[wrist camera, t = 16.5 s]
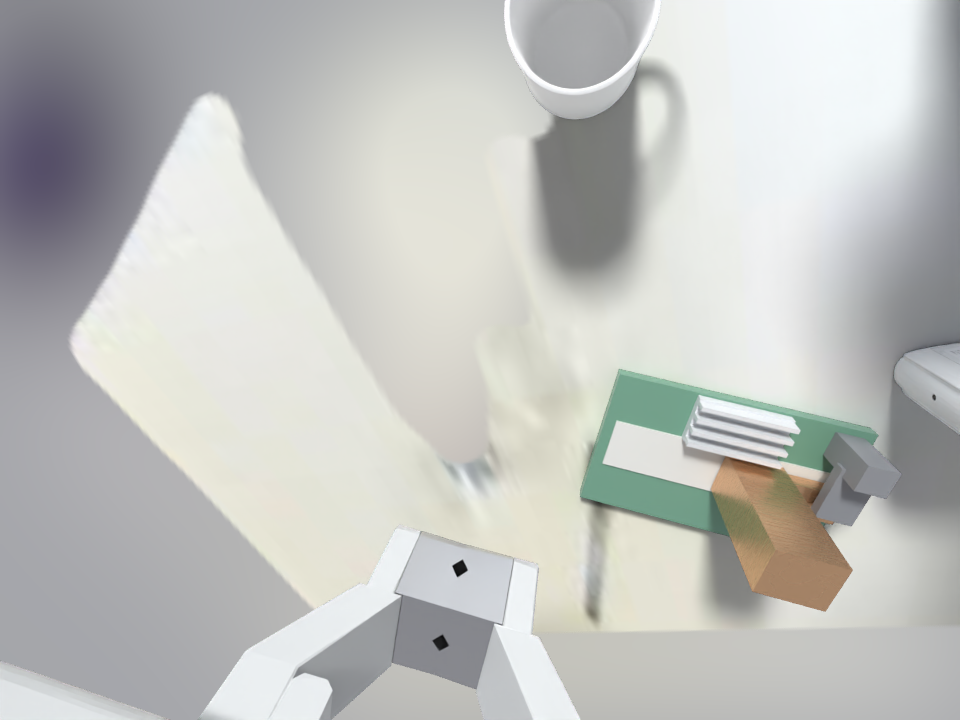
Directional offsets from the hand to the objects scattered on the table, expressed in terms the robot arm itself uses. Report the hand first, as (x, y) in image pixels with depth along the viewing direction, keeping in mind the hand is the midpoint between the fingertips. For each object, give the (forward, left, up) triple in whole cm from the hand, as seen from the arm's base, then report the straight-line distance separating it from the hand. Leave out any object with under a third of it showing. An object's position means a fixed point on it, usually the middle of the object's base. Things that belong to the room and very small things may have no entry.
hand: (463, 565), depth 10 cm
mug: (-8, -14, -35) cm, 39 cm away
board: (-9, +23, -35) cm, 43 cm away
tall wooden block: (-13, +25, -33) cm, 44 cm away
